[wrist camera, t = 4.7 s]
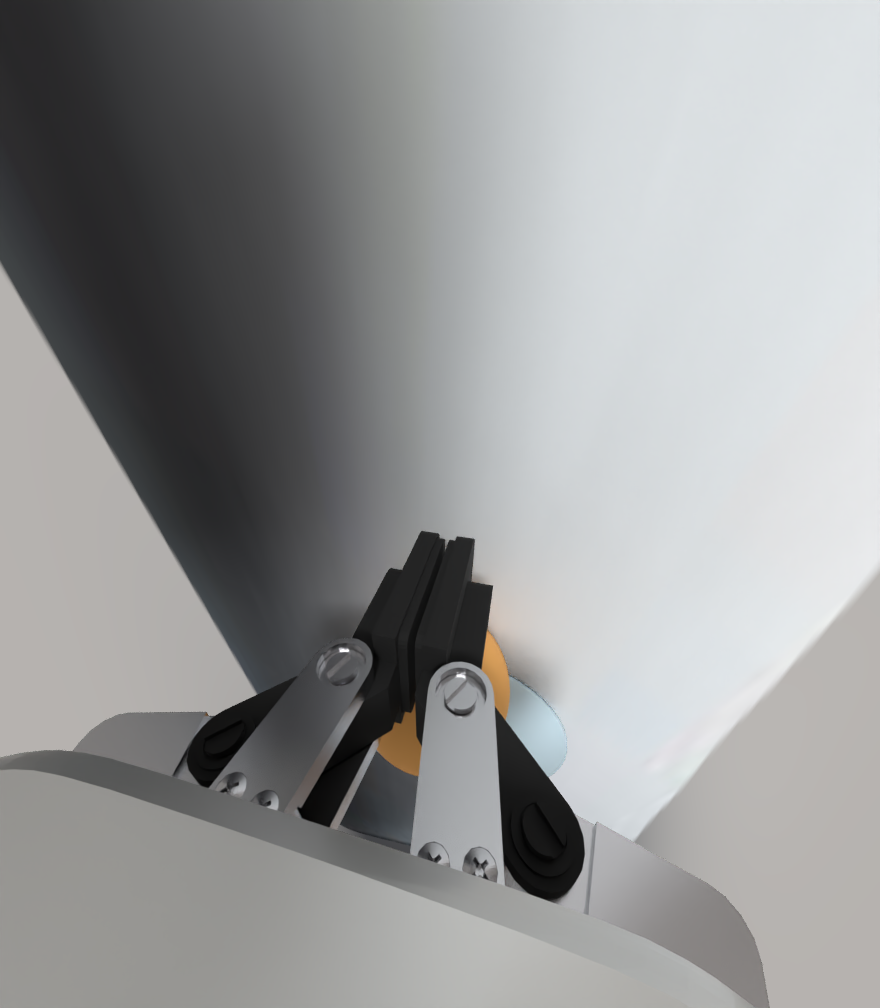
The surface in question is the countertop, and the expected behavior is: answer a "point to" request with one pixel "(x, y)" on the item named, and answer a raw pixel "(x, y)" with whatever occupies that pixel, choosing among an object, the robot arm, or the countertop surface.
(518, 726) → the disc
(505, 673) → the ball
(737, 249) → the countertop surface
